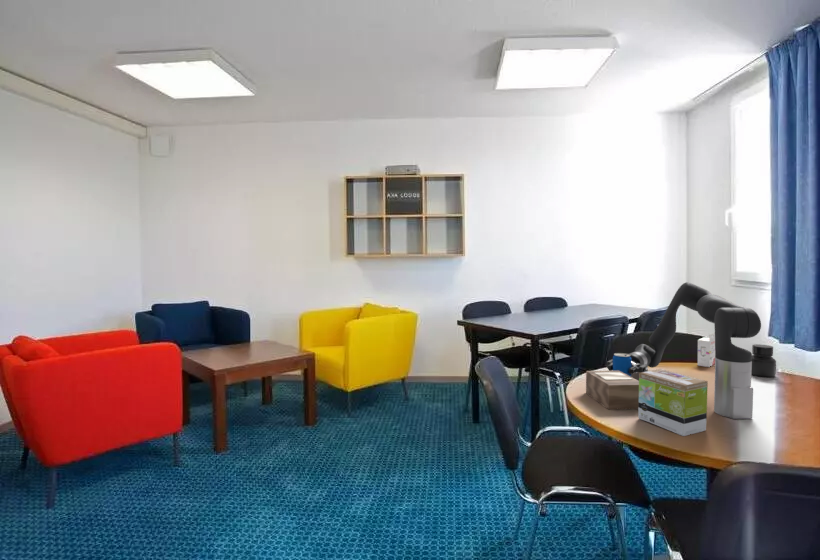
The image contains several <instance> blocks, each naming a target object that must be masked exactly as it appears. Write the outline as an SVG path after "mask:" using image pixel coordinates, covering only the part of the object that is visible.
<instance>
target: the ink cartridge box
mask: <svg viewBox="0 0 820 560" xmlns="http://www.w3.org/2000/svg"><path fill="white" fill-rule="evenodd" d="M715 356H716V352H715V331H713V332H711V333H708V337H702V338H699V339H697V367H698V366H699V367H706V368H711V367H712V366H715V358H716V357H715ZM710 366H711V367H710Z"/></svg>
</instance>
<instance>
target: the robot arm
mask: <svg viewBox="0 0 820 560" xmlns="http://www.w3.org/2000/svg"><path fill="white" fill-rule="evenodd" d="M680 306H683V307H686V308H687V309H690V310H693V311H695V312H697V313H698V315H699V316H700V317H702V318H703V320H705V321H707V322H709V323H712V324H714V332H715V364H714V390H713V391H714V393H713V394H714V396H713V398H714V400H713V401H714V402H713V403H714V405H713V411H714V413H716V414H717V415H719V416H722V417H727V418H730V419H732V420H736V419H737V420H740V419H742V420H743V419H744V420H746V419H753V415H754V414H753V409H754V406H753V405H754V388H753V386H752V375H751V370H752V355H753V354H752V351H750V350H748V349H745V348H742V347H739V346H737V345H735V344H733V342H732V338H734V339H735V338H736V339H748V338H753V337H756V336H757V335H759V333H760V332H761V329H762V322H761V318H760V316H759V314H758V313H757V312H756V311H755V310H754V309H752V308H749V307H744V306H741V305H737V304H736V303H734V302H732V301H729V300H727V299H726V298H723V297H722V296H719V295H717V294H712V293H711V292H710V291H709V290H707V289H705V288H703V287H701V286H698V285H696V284H694V283H691V282H689V281H688V282H687V281H686V282H684V283H682V284H681V285H680V286H679V287H678V289H677V290H676V292H675V294H674V295H673V297H672V299H671V301H670V302H669V305H668V306H667V308H666V310H665V313H664V315H663V317H662V318H661V320H660V321H659V323H658V325H657V327H656V328H655V329H654V331H653V332H652V333H651V335H650V336H649V338H648V342H649V343H650V344H651V346H652V347H653V348H652V347H650V345H647V344H644V343H641V344H639V345H637V346H636V347H635V349H634V351H633V352H630V353H628V354H629V355H630V357H631V359H632V362H631V368H630V369H629V374H631V376H632V375H634V374H638V373H639V372H640V373H641V372H647V371H649V370H648V369H649V368H656V367H658V366H659V365H660V363H661V361H662V357H663V354H664V351H665V349H666V348H667V346H668V344H669V343H670V342H671V341H672V339H673V338H674V336H675V334H676V331H677V312H678V309H679V307H680ZM606 369H607V371H613V358H612V359H610V360H608V361H606Z"/></svg>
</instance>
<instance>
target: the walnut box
mask: <svg viewBox="0 0 820 560" xmlns="http://www.w3.org/2000/svg"><path fill="white" fill-rule="evenodd" d="M585 379H586V380H585V393H586V395H588V396H590V397H591V398H592V399H593V400H595V401H596V402H598V404H599V403H600V405H602V406H603V407H605V408H606V409H607V410H638V403H639V379H636V378H634V377H633V376H631V377H630V376H629V375H627V374H625V373H623V372H621V371H613V370H612V371H609V370H586V372H585Z"/></svg>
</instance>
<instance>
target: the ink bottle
mask: <svg viewBox="0 0 820 560" xmlns="http://www.w3.org/2000/svg"><path fill="white" fill-rule="evenodd" d="M751 348H752V349H751V353H752V370H751V376H754V377H755V376H756V377H760V378H761V377H762V378H773V377H776V376H777V360H776V359H775V358H774V357H773V356H774V346H772V345H768V344H756V343H755V344H752V347H751Z"/></svg>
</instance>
